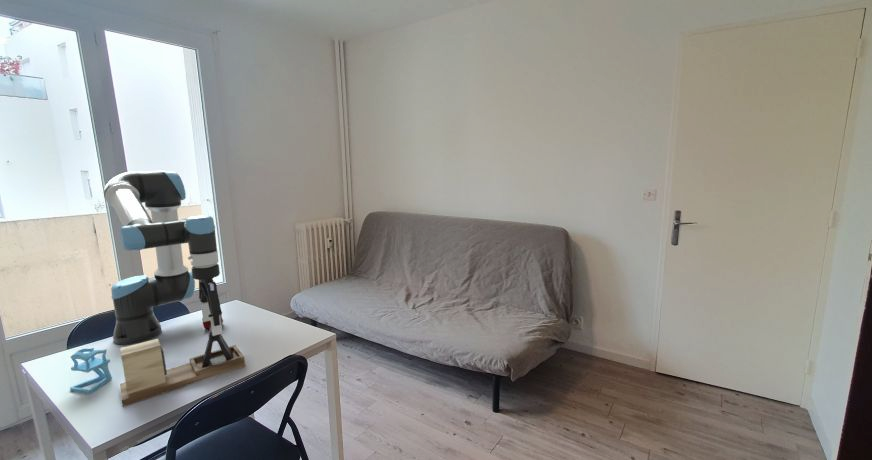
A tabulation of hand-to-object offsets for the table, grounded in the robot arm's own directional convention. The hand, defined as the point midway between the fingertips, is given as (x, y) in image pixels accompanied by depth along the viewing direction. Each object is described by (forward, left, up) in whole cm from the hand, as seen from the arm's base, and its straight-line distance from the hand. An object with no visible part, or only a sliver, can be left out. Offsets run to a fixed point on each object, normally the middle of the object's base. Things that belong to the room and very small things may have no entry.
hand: (212, 327), depth 125 cm
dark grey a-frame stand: (+1, 0, -12) cm, 12 cm away
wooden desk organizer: (0, -9, -14) cm, 17 cm away
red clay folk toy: (-37, +6, -14) cm, 40 cm away
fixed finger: (0, -19, -12) cm, 22 cm away
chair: (-15, -31, -14) cm, 37 cm away
